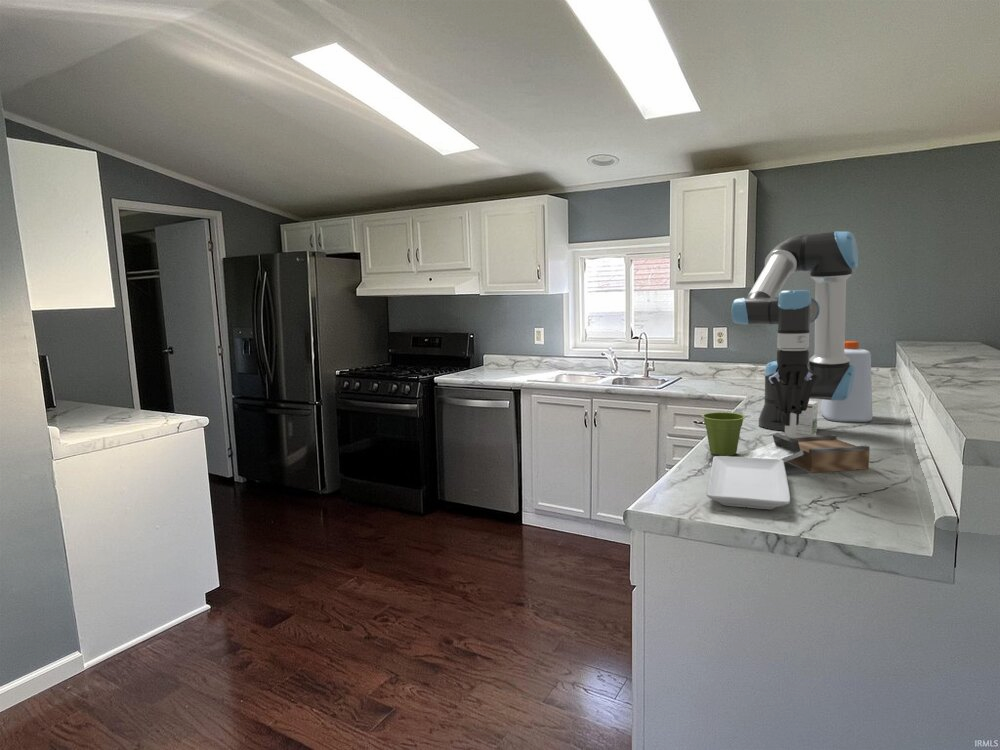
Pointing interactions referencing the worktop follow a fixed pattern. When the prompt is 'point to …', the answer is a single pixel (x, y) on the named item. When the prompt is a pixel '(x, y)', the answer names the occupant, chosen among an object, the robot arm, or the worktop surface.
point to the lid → (777, 449)
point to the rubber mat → (793, 469)
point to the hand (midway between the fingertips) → (790, 437)
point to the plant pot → (723, 432)
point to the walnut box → (830, 454)
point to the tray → (748, 482)
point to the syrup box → (808, 420)
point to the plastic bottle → (853, 390)
